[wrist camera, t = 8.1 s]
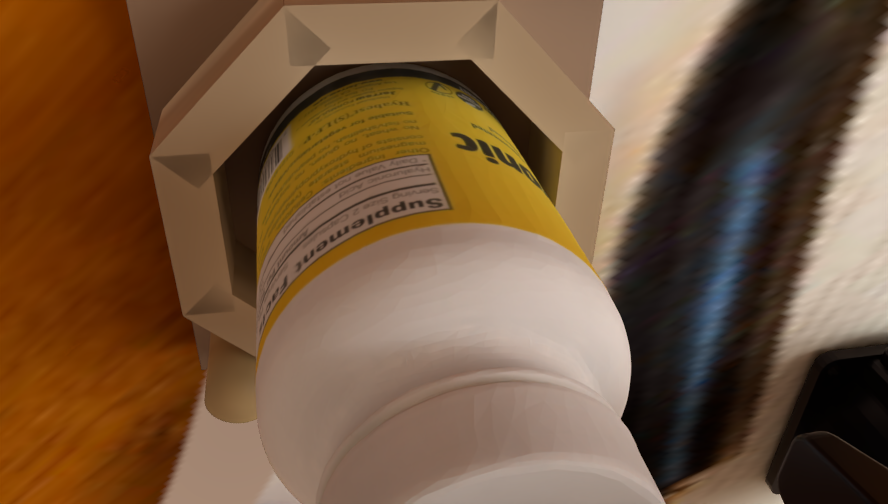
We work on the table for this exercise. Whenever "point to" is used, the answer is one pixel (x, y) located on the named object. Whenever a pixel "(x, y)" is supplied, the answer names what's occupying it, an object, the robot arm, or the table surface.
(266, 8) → the beige octagonal holder
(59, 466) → the table surface
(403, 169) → the supplement bottle
